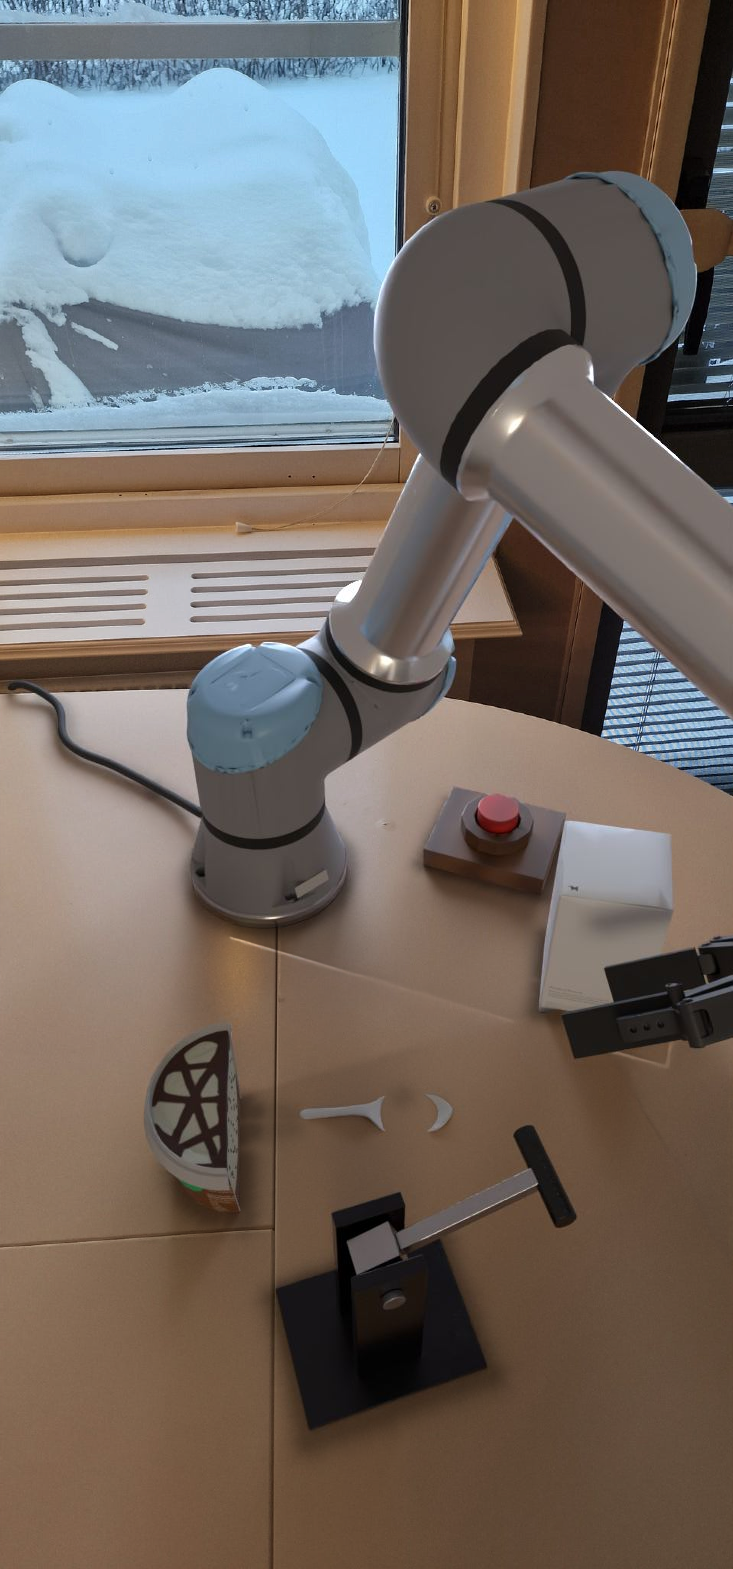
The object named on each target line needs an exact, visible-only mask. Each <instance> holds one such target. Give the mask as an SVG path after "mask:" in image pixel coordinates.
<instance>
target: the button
mask: <svg viewBox="0 0 733 1569" xmlns="http://www.w3.org/2000/svg"><path fill="white" fill-rule="evenodd" d="M493 794H494V795H493ZM493 794H488V795H489V796H486V797H484V798H483V799H482V800H481V801H480V803H479V805H478V815H477V821H478V824H479V825H480V827H481V828H482V829H484V830H485V831H487V832H490V833H494V834H503V833H508V832H511V831H512V830H514V829H515V827H516V826H517V823H518V815H519V806H518V804H517V803H516V801H515V800H513V799H512V798H510V797H511V796H509V795H504V794H499V793H493ZM508 796H509V797H508Z"/></svg>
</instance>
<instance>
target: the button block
mask: <svg viewBox="0 0 733 1569" xmlns="http://www.w3.org/2000/svg"><path fill="white" fill-rule="evenodd" d="M494 794H495V793H493V794H492V795H494ZM489 795H490V794H488V793H484V792H483V793H482V792H481V791H480V792H479V791H476V790H470V789H467V788H463V787H458V786H452V788H451V791H450V792H449V794H448V797H447V799H446V801H445V803H444V805H443V807H442V809H441V812H440V814H439V816H438V818H437V820H436V822H435V823H434V824H435V825H434V827H433V828H432V831H431V833H430V835H429V837H428V839H427V842H426V844H425V846H424V847H423V856H422V865H424V866H427V867H431V868H435V869H439V870H443V871H446V872H451V873H454V874H456V875H457V874H458V875H461V876H465V877H469V878H472V879H477V880H480V881H484V882H489V883H492V884H496V885H499V886H504V887H507V888H511V889H515V890H518V891H523V892H527V893H530V894H534V895H538V896H542V894H543V891H544V888H545V885H546V882H547V879H548V878H549V877H548V876H549V873H550V870H551V867H552V864H553V861H554V858H555V856H556V852H557V849H558V847H559V844H560V842H561V841H560V840H561V839H562V834H563V829H564V824H565V821H566V816H567V812H563V811H559V810H554V809H551V808H546V807H544V806H543V807H542V806H539V805H538V806H537V805H534V804H529V803H525V802H521V801H520V800H518V798H516V797H513V796H509V795H507V796H508V797H510V798H512V799H513V800H515V801H516V803H517V804H518V806H519V815H518V823H517V826H516V827H515V829H514V830H512V831H511V832H508V833H503V834H494V833H490V832H487V831H485V830H484V829H482V828H481V827H480V825H479V824H478V821H477V815H478V805H479V803H480V801H481V800H482V799H483V798H484V797H486V796H489Z"/></svg>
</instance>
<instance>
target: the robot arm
mask: <svg viewBox="0 0 733 1569" xmlns="http://www.w3.org/2000/svg"><path fill="white" fill-rule="evenodd" d="M693 250H694V249H693V240H692V237H691V233H690V231H689V228H688V226H687V223H686V221H685V220H684V217H683V216H682V214H681V212H680V210H679V209H678V208H677V206H676V205H675V204H674V202H673V200H672V199H671V198H670V197H669V196H668V194H666V193H665V192H664V191H663V190H662V189H661V188H660V187H659V186H657V185H656V184H655V183H653V182H652V181H650V180H649V179H646V178H645V177H642V176H640V175H638V174H635V173H632V172H627V171H623V170H622V171H621V170H608V171H602V172H594V171H580V172H576V173H573V174H570V175H568V176H566V177H564V178H563V179H560V180H556V181H554V182H549V183H547V184H543V185H539V186H536V187H532V188H528V189H525V190H522V191H519V192H514V193H511V194H507V195H504V196H500V197H496V198H494V199H489V200H485V201H480V202H474V203H469V204H465V205H462V206H459V207H456V208H452V209H449V210H448V211H446V212H443V213H442V214H439V215H437V216H436V217H434V218H433V219H431V220H430V221H428V222H427V223H425V224H424V225H423V226H422V227H421V228H419V229H418V230H417V231H416V232H415V233H414V234H413V235H412V236H411V237H410V238H409V239H408V240H407V241H405V243H404V244H403V246H402V247H401V249H400V250H399V251H398V253H397V255H396V256H395V257H394V259H393V260H392V262H391V264H390V266H389V268H388V270H387V273H386V275H385V277H384V279H383V281H382V283H381V286H380V290H379V294H378V299H377V301H376V306H375V311H374V319H373V350H374V351H373V352H374V357H375V363H376V369H377V373H378V377H379V380H380V385H381V388H382V391H383V393H384V396H385V398H386V401H387V403H388V405H389V407H390V409H391V411H392V412H393V414H394V416H395V419H396V420H397V422H398V424H399V427H400V428H401V430H402V431H403V432H404V434H405V435H406V436H407V438H408V439H409V440H410V442H411V443H412V445H413V446H414V447H415V449H416V451H417V452H419V453H418V455H417V458H416V460H415V462H414V464H413V467H412V469H411V471H410V473H409V475H408V477H407V479H406V482H405V484H404V486H403V488H402V491H401V493H400V495H399V497H398V499H397V502H396V503H395V506H394V509H393V511H392V513H391V515H390V517H389V520H388V522H387V524H386V526H385V527H384V528H385V529H384V531H383V532H382V534H381V537H380V539H379V541H378V544H377V546H376V548H375V550H374V552H373V555H372V557H371V559H370V562H369V563H368V566H367V568H366V570H365V572H364V574H363V577H362V579H361V580H357V581H354V582H353V583H350V584H349V585H347V586H345V587H344V588H342V590H340V592H339V593H338V594H337V596H336V597H335V598H334V600H333V601H332V604H331V607H330V608H329V611H328V614H327V616H326V618H325V620H324V623H323V625H322V627H321V629H320V630H319V631H318V632H317V633H315V635H314V636H312V637H310V638H308V639H306V640H305V641H303V642H300V643H299V644H297V645H295V646H293V645H290V644H286V643H283V642H282V643H281V642H273V641H265V642H264V641H263V642H261V644H259V646H256V647H255V646H253V645H252V644H251V643H247V644H244V645H240V646H237V647H234V648H232V649H228V650H227V651H225V652H222V653H221V654H220V655H218V656H216V657H214V659H212V660H211V661H209V662H208V663H207V664H206V665H204V667H203V668H202V669H201V670H200V671H199V672H198V674H197V675H196V677H195V678H194V680H192V681H193V682H192V683H191V685H190V687H189V690H188V693H187V699H186V700H187V701H186V718H187V722H186V740H187V743H188V746H189V749H190V751H191V757H192V763H193V769H194V770H193V771H194V775H195V776H194V777H195V783H196V789H197V796H198V802H199V806H198V805H196V803H194V802H191V801H189V800H188V799H186V798H184V797H183V796H181V795H179V794H177V793H176V792H174V791H172V790H170V789H168V788H166V787H164V786H163V785H161V784H159V783H158V782H155V781H153V780H152V779H150V778H149V777H147V776H144V775H143V774H141V773H139V772H137V771H136V770H134V769H131V768H129V767H127V766H126V765H123V764H122V763H120V762H118V761H115V760H113V759H111V758H108V757H105V756H104V755H103V756H102V755H100V754H97V753H95V752H92V751H90V750H88V749H85V748H83V747H81V746H79V745H77V744H76V743H75V742H74V741H73V740H72V739H71V738H70V737H69V735H68V732H67V726H66V724H67V723H66V711H65V708H64V705H63V704H62V702H61V701H59V699H58V698H56V697H55V695H53V694H52V693H50V692H49V691H48V690H46V689H45V688H42V687H41V686H39V685H37V684H35V683H33V682H30V681H26V680H14V681H11V682H10V683H9V684H8V685H7V690H8V691H12V692H13V691H16V690H18V689H22V690H25V691H29V692H31V693H33V694H35V695H37V696H39V697H41V698H42V699H44V700H45V701H46V702H47V703H49V704H50V705H51V706H52V707H53V709H54V710H55V714H56V725H57V726H56V728H57V729H56V730H57V735H58V738H59V740H60V741H61V743H62V744H63V745H64V746H65V748H67V749H68V751H70V752H71V753H73V754H74V755H76V756H78V757H80V758H82V759H83V760H86V761H88V762H89V761H90V762H92V763H95V764H97V765H100V766H103V767H105V768H108V769H110V770H112V771H115V772H116V773H118V774H120V775H122V776H124V777H126V778H128V779H130V780H132V781H133V782H135V783H137V784H139V785H141V786H143V787H144V788H146V789H148V790H150V791H151V792H153V793H156V794H157V795H159V796H160V797H162V798H164V799H166V800H168V801H170V802H171V803H173V804H175V805H176V806H178V807H180V808H182V809H184V810H186V811H187V812H189V813H190V814H192V815H194V816H196V817H197V818H199V819H200V822H199V825H198V828H197V831H196V836H195V839H194V843H193V847H192V850H191V855H190V861H189V862H190V863H189V868H190V876H191V882H192V886H193V890H194V892H195V894H196V896H197V898H198V900H199V901H200V902H201V903H202V905H203V906H204V907H205V908H206V909H207V910H208V911H210V913H212V914H214V915H215V916H216V917H218V918H221V919H222V920H224V921H227V922H229V923H231V924H234V925H238V926H243V927H249V928H261V929H262V928H263V929H264V928H265V929H267V928H279V927H283V926H289V925H292V924H296V923H299V922H302V921H305V920H307V919H309V918H311V917H313V916H315V915H317V914H318V913H320V912H321V911H322V910H324V909H325V908H326V907H327V906H329V905H330V904H331V903H332V901H333V900H335V898H336V897H337V896H338V894H339V893H340V892H341V889H342V888H343V886H344V883H345V880H346V876H347V866H348V865H347V849H346V845H345V843H344V839H343V837H342V835H341V833H340V832H339V830H338V829H337V826H336V824H335V822H334V819H333V817H332V814H330V810H329V809H328V807H327V805H326V786H325V784H326V783H325V780H326V778H327V776H328V775H329V774H331V773H332V772H334V771H335V770H337V769H339V768H340V767H341V766H343V765H345V764H346V763H348V762H350V761H352V760H353V759H354V758H356V757H357V756H359V755H360V754H362V753H363V752H365V751H366V750H368V749H370V748H371V747H373V746H375V745H376V744H378V743H380V742H381V741H383V740H384V739H386V738H387V737H389V736H390V735H392V734H394V733H395V732H397V731H399V730H400V729H402V728H403V727H405V726H406V725H408V724H410V723H412V722H415V721H417V720H419V719H420V718H421V717H424V716H426V715H427V714H428V713H429V712H431V711H432V710H433V709H434V707H436V705H437V704H438V703H440V702H441V701H442V699H443V698H445V696H446V695H447V694H448V692H449V691H450V689H451V687H452V684H453V682H454V679H455V676H456V670H457V659H456V658H455V657H454V656H452V654H453V652H454V651H455V650H456V648H455V647H456V646H455V643H454V640H453V635H452V630H451V625H452V622H453V621H454V620H455V617H456V616H457V614H458V613H459V611H460V609H461V607H462V606H463V604H464V602H465V601H466V599H467V598H468V596H469V594H470V592H471V591H472V589H473V587H474V586H475V584H476V583H477V581H478V579H479V577H480V576H481V574H482V573H483V571H484V569H485V567H486V566H487V564H488V563H489V560H490V559H491V557H492V555H494V554H493V553H494V552H495V550H496V548H498V545H499V544H500V541H501V540H502V539H503V537H504V535H505V533H506V532H507V530H508V529H509V527H510V525H511V523H512V521H513V520H514V519H515V520H516V521H517V522H518V523H519V524H520V525H521V526H523V528H524V529H525V530H527V531H528V532H529V533H530V534H531V535H532V536H533V537H534V538H535V539H536V540H537V541H538V542H539V543H541V545H543V546H544V547H545V548H546V549H547V550H548V551H549V552H550V553H551V554H552V555H553V556H555V557H556V558H557V559H558V560H559V561H560V562H561V563H562V564H563V565H564V566H565V567H566V568H567V569H568V570H570V572H571V573H572V574H574V575H575V576H576V577H577V578H578V579H579V580H580V581H581V582H582V583H583V584H584V585H585V586H586V587H588V588H589V589H590V591H592V592H593V593H594V594H595V595H596V596H598V598H600V599H601V600H602V601H603V602H604V603H605V604H606V605H607V606H608V607H609V608H610V609H612V611H614V613H616V614H617V615H618V616H619V617H620V618H621V619H622V620H623V621H624V622H625V623H627V625H628V626H629V627H631V629H633V630H634V631H635V632H636V633H637V634H638V635H639V636H640V637H641V638H642V639H643V640H645V641H646V642H647V643H648V644H649V646H651V647H652V648H653V649H654V650H655V651H656V652H658V654H660V655H661V656H662V657H663V659H665V660H666V661H667V662H668V663H669V664H670V665H672V666H673V667H674V668H675V669H676V670H677V671H678V672H679V673H680V674H681V675H682V676H683V677H685V679H686V680H688V681H689V682H690V683H691V684H692V685H693V686H694V687H695V689H697V690H698V691H700V692H701V694H703V695H704V696H705V697H706V698H707V699H708V700H709V701H710V702H711V703H712V704H713V705H715V707H717V709H719V710H720V711H721V712H722V713H723V714H724V715H725V716H726V717H727V718H729V720H731V721H732V722H733V504H731V503H730V502H729V501H728V500H727V499H726V498H725V497H724V496H722V495H721V494H720V493H719V492H717V490H715V489H714V488H713V487H712V486H711V485H710V484H708V483H707V482H706V481H705V480H704V479H703V478H702V477H701V476H699V475H698V474H697V473H696V472H695V471H694V470H692V469H691V468H690V467H689V466H688V465H686V463H685V462H683V461H682V460H681V459H680V458H678V456H676V454H674V453H673V452H672V451H671V450H670V449H668V448H667V446H665V445H664V444H662V443H661V441H660V440H658V439H657V438H656V437H654V435H653V434H651V433H650V432H649V431H648V430H647V429H645V428H644V427H643V426H642V425H641V424H640V423H639V422H637V421H636V420H635V419H634V418H633V417H631V416H630V415H629V414H628V413H627V412H626V411H625V410H623V409H622V408H621V407H620V406H619V405H618V404H617V403H615V402H614V401H613V400H612V399H613V398H614V396H615V394H616V393H617V391H618V390H619V388H620V387H621V385H622V384H623V382H624V380H625V379H626V377H627V376H628V374H629V373H630V372H631V371H632V370H633V369H634V368H635V367H640V366H643V365H647V364H649V363H651V362H652V361H654V360H656V359H658V357H660V355H661V354H662V353H663V352H664V351H665V350H666V349H667V348H669V347H670V346H671V345H672V344H673V343H674V342H675V341H676V339H677V338H678V337H679V336H680V334H681V333H682V331H683V330H684V328H685V327H686V324H687V322H688V320H689V317H690V316H691V313H692V309H693V306H694V302H695V298H696V292H697V281H698V278H697V277H698V276H697V275H698V270H697V264H696V263H695V260H694V251H693ZM708 941H709V942H708ZM708 941H707V942H703V943H701V945H698V946H697V948H696V947H695V946H694V947H689V948H684V949H679V950H674V951H670V952H665V953H661V955H656V956H651V957H647V958H642V959H637V960H633V961H628V962H624V963H619V964H614V965H610V966H606V967H605V968H604V971H605V974H606V978H607V981H608V985H609V988H610V991H611V995H612V998H613V1001H614V1002H613V1003H608V1004H603V1005H598V1006H593V1007H588V1008H583V1009H578V1010H573V1011H564V1012H563V1013H561V1015H560V1016H561V1020H562V1023H563V1026H564V1030H565V1034H566V1036H567V1040H568V1044H569V1047H570V1050H571V1053H572V1056H573V1057H572V1058H573V1060H578V1059H584V1058H591V1057H595V1056H600V1055H606V1054H611V1053H616V1052H622V1051H627V1050H634V1049H639V1048H644V1047H649V1046H655V1045H660V1044H667V1043H671V1042H676V1041H683V1042H687V1044H688V1046H689V1048H691V1049H704V1048H706V1047H707V1046H710V1045H713V1044H717V1043H721V1042H723V1041H726V1040H730V1039H733V934H729V935H723V936H722V935H715V936H714V937H712V938H711V939H709V940H708ZM697 950H698V952H697ZM705 977H706V978H705ZM706 981H707V982H706Z"/></svg>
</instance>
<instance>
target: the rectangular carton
mask: <svg viewBox="0 0 733 1569" xmlns="http://www.w3.org/2000/svg"><path fill="white" fill-rule="evenodd" d="M560 840H561V841H560V847H559V853H558V858H557V865H556V871H555V876H554V881H553V882H554V883H553V889H552V894H551V901H550V905H549V906H550V907H549V913H548V918H547V919H548V920H547V924H546V930H545V937H544V946H543V956H542V966H541V967H542V968H541V978H540V988H539V997H538V998H539V999H538V1011H539V1012H541V1013H548V1012H551V1011H556V1010H562V1011H566V1012H568V1011H573V1010H578V1009H583V1008H588V1007H593V1006H598V1005H603V1004H608V1003H613V1002H614V1001H613V998H612V995H611V991H610V988H609V985H608V981H607V978H606V974H605V971H604V968H605V967H606V966H610V965H614V964H619V963H624V962H628V961H633V960H637V959H642V958H647V957H651V956H656V955H661V954H663V953H662V952H663V949H664V946H665V943H666V939H667V935H668V932H669V929H670V925H671V921H672V918H673V914H674V885H673V882H674V881H673V856H672V854H673V852H672V835H671V833H664V832H660V831H659V832H658V831H653V830H643V829H636V828H635V829H634V828H627V827H618V826H612V825H605V824H598V823H591V822H584V821H577V820H565V823H564V829H563V832H562V835H561V839H560Z"/></svg>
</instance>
